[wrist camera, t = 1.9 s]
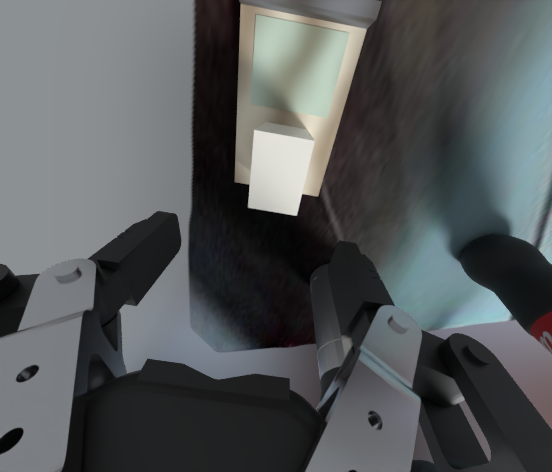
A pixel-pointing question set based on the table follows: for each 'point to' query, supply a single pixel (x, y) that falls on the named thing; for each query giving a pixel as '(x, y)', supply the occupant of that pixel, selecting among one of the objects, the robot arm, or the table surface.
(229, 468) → the robot arm
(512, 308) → the cola bottle
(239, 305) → the table surface
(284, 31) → the cream grey flat block
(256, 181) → the carton
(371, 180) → the table surface
